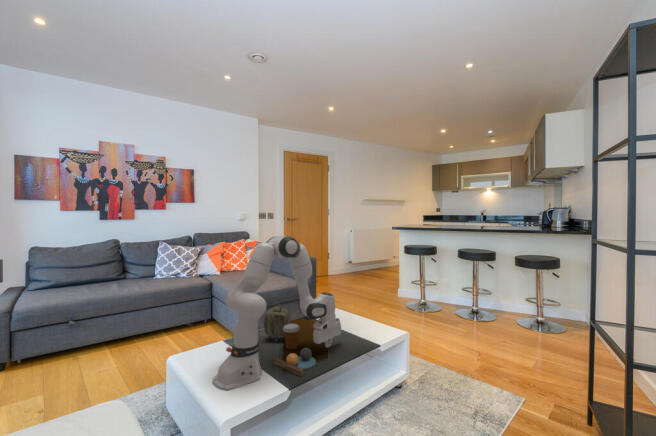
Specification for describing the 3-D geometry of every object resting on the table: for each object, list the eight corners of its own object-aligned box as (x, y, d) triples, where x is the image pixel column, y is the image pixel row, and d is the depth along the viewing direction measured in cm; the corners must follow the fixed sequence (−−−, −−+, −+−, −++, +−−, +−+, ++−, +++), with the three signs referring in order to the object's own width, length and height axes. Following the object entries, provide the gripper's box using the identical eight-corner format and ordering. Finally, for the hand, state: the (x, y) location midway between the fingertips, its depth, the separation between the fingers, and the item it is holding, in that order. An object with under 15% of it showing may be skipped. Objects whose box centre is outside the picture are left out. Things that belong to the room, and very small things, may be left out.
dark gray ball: (307, 348, 159) (315, 351, 163) (300, 344, 164) (308, 347, 167) (303, 360, 157) (311, 363, 161) (295, 356, 162) (303, 359, 165)
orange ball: (294, 370, 152) (289, 359, 151) (286, 367, 156) (282, 357, 155) (302, 361, 156) (298, 351, 155) (295, 359, 161) (290, 349, 160)
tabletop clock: (290, 337, 192) (290, 297, 192) (287, 343, 183) (286, 301, 183) (267, 337, 193) (267, 296, 193) (263, 343, 184) (262, 300, 184)
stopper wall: (300, 376, 145) (300, 371, 145) (273, 363, 158) (273, 358, 158) (303, 375, 146) (303, 369, 146) (276, 362, 160) (276, 357, 160)
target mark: (301, 371, 149) (301, 371, 149) (282, 363, 159) (282, 362, 159) (321, 361, 160) (321, 361, 160) (302, 353, 169) (302, 353, 169)
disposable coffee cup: (279, 348, 176) (279, 327, 176) (289, 342, 184) (289, 322, 184) (293, 352, 172) (293, 330, 172) (303, 345, 180) (302, 324, 180)
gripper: (335, 316, 184) (335, 339, 184) (311, 325, 169) (311, 351, 169) (343, 318, 180) (344, 342, 180) (319, 328, 165) (319, 354, 165)
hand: (328, 346), depth 174 cm, fingers closed
